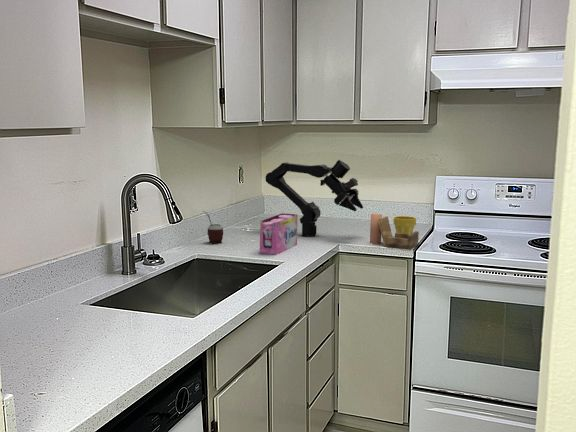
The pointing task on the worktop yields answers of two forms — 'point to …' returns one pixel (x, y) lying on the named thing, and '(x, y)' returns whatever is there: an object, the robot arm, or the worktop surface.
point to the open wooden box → (403, 241)
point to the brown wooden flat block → (385, 229)
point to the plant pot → (404, 224)
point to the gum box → (278, 233)
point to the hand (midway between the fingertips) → (359, 209)
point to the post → (375, 229)
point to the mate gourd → (214, 232)
